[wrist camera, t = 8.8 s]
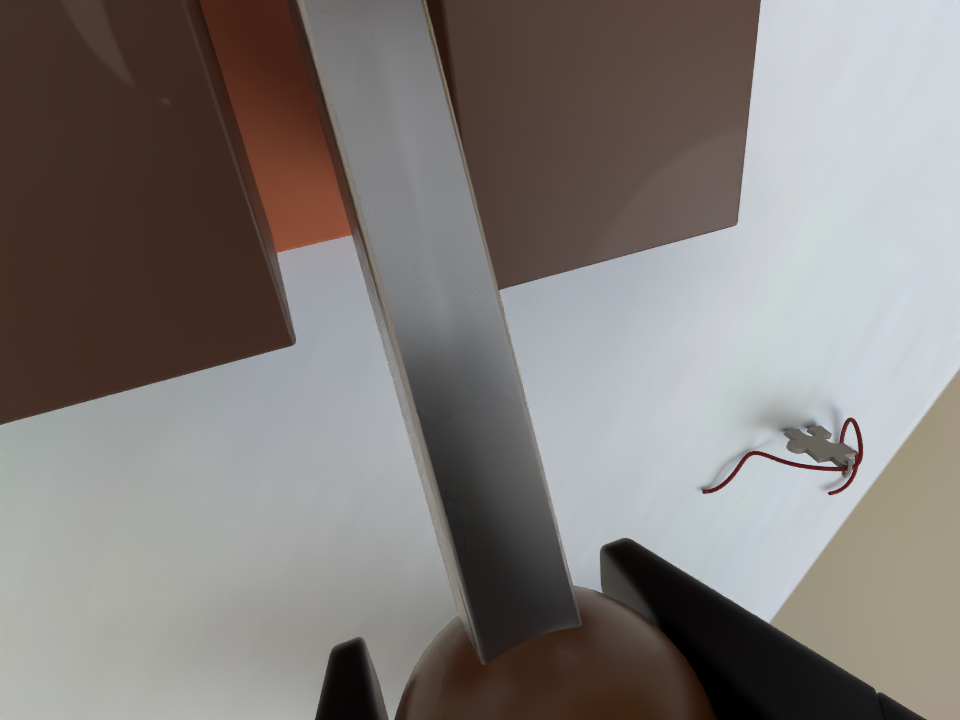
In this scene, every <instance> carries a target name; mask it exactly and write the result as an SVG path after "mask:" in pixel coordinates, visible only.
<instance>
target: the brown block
mask: <svg viewBox="0 0 960 720" xmlns="http://www.w3.org/2000/svg"><path fill="white" fill-rule="evenodd" d="M426 2H427V6H428V10H429V14H430V18H431V22H432V26H433V30H434V34H435V38H436V42H437V46H438V50H439V54H440V58H441V62H442V66H443V70H444V74H445V78H446V82H447V86H448V90H449V94H450V98H451V102H452V106H453V110H454V114H455V118H456V122H457V126H458V130H459V134H460V138H461V142H462V146H463V150H464V154H465V158H466V162H467V166H468V170H469V174H470V178H471V182H472V186H473V190H474V194H475V198H476V202H477V206H478V210H479V214H480V218H481V222H482V226H483V230H484V234H485V238H486V242H487V246H488V249H489V253H490V257H491V261H492V265H493V269H494V273H495V277H496V281H497V285H498V289H499V290H500V289H504V288H507V287H511V286H515V285H518V284H522V283H526V282H529V281H533V280H537V279H540V278H544V277H548V276H551V275H555V274H559V273H563V272H566V271H570V270H574V269H577V268H581V267H585V266H588V265H592V264H596V263H599V262H603V261H607V260H610V259H614V258H618V257H621V256H625V255H629V254H633V253H636V252H640V251H644V250H647V249H651V248H655V247H658V246H662V245H666V244H669V243H673V242H677V241H680V240H684V239H688V238H691V237H695V236H699V235H703V234H706V233H710V232H714V231H717V230H721V229H725V228H728V227H732V226H735V225H737V222H738V212H739V203H740V193H741V184H742V174H743V165H744V155H745V146H746V136H747V127H748V117H749V107H750V98H751V88H752V79H753V69H754V60H755V50H756V41H757V31H758V22H759V12H760V3H761V0H426ZM349 235H352V233H351V229H350V226H349V222H348V219H347V215H346V212H345V208H344V204H343V201H342V197H341V194H340V190H339V187H338V183H337V179H336V176H335V172H334V169H333V165H332V162H331V158H330V155H329V151H328V147H327V144H326V140H325V137H324V133H323V130H322V126H321V122H320V119H319V115H318V112H317V108H316V105H315V101H314V98H313V94H312V90H311V87H310V83H309V80H308V76H307V73H306V69H305V65H304V62H303V58H302V55H301V51H300V48H299V44H298V40H297V37H296V33H295V30H294V26H293V23H292V19H291V16H290V12H289V8H288V5H287V1H286V0H0V425H1V424H5V423H9V422H12V421H16V420H20V419H23V418H27V417H31V416H34V415H38V414H42V413H46V412H49V411H53V410H57V409H60V408H64V407H68V406H71V405H75V404H79V403H82V402H86V401H90V400H93V399H97V398H101V397H105V396H108V395H112V394H116V393H119V392H123V391H127V390H130V389H134V388H138V387H141V386H145V385H149V384H152V383H156V382H160V381H163V380H167V379H171V378H175V377H178V376H182V375H186V374H189V373H193V372H197V371H200V370H204V369H208V368H211V367H215V366H219V365H222V364H226V363H230V362H234V361H237V360H241V359H245V358H248V357H252V356H256V355H259V354H263V353H267V352H270V351H274V350H278V349H281V348H285V347H289V346H292V345H294V344H295V342H296V338H295V333H294V329H293V325H292V320H291V316H290V311H289V307H288V302H287V298H286V294H285V289H284V285H283V280H282V276H281V271H280V267H279V263H278V258H277V254H276V253H278V252H282V251H286V250H290V249H294V248H298V247H303V246H307V245H311V244H315V243H319V242H324V241H328V240H332V239H336V238H340V237H344V236H349Z"/></svg>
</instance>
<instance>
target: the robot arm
mask: <svg viewBox="0 0 960 720" xmlns="http://www.w3.org/2000/svg"><path fill="white" fill-rule="evenodd" d="M600 572H601V587H602V591H603V594H605V595H607V596H610V597H612V598H614V599H616V600H618V601H620V602H622V603H624V604H626V605H628V606H629V607H631V608H633V609H634V610H636V611H638V612H639V613H640V614H642V615H643V616H644V617H645V618H647V619H648V620H649V621H650V622H652V623H653V624H654V625H655V626H657V627H658V628H659V629H660V630H661V631H663V633H664V634H665V635H666V636H667V637H668V638H669V639H670V640H671V642H672V643H673V644H674V645H675V646H676V647H677V648H678V649H679V651H680V652H681V653H682V654H683V655H684V656H685V658H686V659H687V661H688V662H689V664H690V665H691V667H692V668H693V670H694V671H695V673H696V675H697V676H698V678H699V680H700V681H701V683H702V684H703V686H704V688H705V690H706V693H707V695H708V697H709V699H710V701H711V704H712V706H713V709H714V711H715V713H716V716H717V718H718V720H926V719H924V718H923V717H921V716H919V715H917V714H916V713H914V712H912V711H911V710H909V709H907V708H906V707H904V706H902V705H901V704H899V703H898V702H896V701H895V700H893V699H891V698H890V697H888V696H886V695H885V694H883V693H880V692H879V693H877V694H876V691H875V689H874V688H873V687H871V686H870V685H868V684H866V683H865V682H863V681H861V680H860V679H858V678H857V677H855V676H853V675H851V674H850V673H848V672H847V671H845V670H844V669H842V668H840V667H839V666H837V665H835V664H834V663H832V662H830V661H829V660H827V659H825V658H824V657H822V656H821V655H819V654H817V653H816V652H814V651H813V650H811V649H809V648H808V647H806V646H804V645H802V644H801V643H800V642H798V641H796V640H795V639H793V638H791V637H790V636H788V635H786V634H785V633H783V632H781V631H780V630H778V629H777V628H775V627H773V626H772V625H770V624H769V623H767V622H765V621H764V620H762V619H760V618H759V617H757V616H755V615H754V614H752V613H751V612H749V611H747V610H746V609H744V608H742V607H741V606H739V605H738V604H736V603H734V602H733V601H731V600H729V599H728V598H726V597H724V596H723V595H721V594H720V593H718V592H716V591H715V590H713V589H711V588H710V587H708V586H707V585H705V584H703V583H702V582H700V581H698V580H697V579H695V578H693V577H692V576H690V575H689V574H687V573H685V572H684V571H682V570H680V569H679V568H677V567H676V566H674V565H672V564H671V563H669V562H667V561H666V560H664V559H662V558H661V557H659V556H658V555H656V554H654V553H653V552H651V551H649V550H648V549H646V548H645V547H643V546H641V545H640V544H638V543H636V542H635V541H633V540H631V539H628V538H622V539H619V540H616V541H614V542H611V543H608V544H606V545H604V546H602V548H601V550H600ZM315 720H389V719H388V715H387V711H386V707H385V703H384V700H383V696H382V692H381V688H380V684H379V680H378V677H377V674H376V671H375V668H374V665H373V663H372V660H371V657H370V654H369V651H368V649H367V646H366V643H365V641H364V639H363V638H361V637H358V638H354V639H352V640H349V641H346V642H344V643H341V644H338V645H336V646H335V647H334V648H333V649H332V651H331V653H330V657H329V661H328V665H327V670H326V674H325V678H324V683H323V687H322V691H321V696H320V700H319V704H318V709H317V713H316V717H315Z"/></svg>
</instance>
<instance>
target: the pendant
mask: <svg viewBox="0 0 960 720" xmlns="http://www.w3.org/2000/svg"><path fill="white" fill-rule="evenodd" d="M850 422H852V423H853V425H854V428H855V431H856V434H857V439H858V449H859V451H858V453H857V451H855V450H852V449H851V448H849V447H848V446H847V445H845V444H844V436H845V432H846V429H847V426H848V424H849V423H850ZM807 432H808V433H810V434H811V435H813V436H808V435H805V434H804V433H802V432H801V431H800V430H799V429H791V430H786V431H785V433H784V435H785V436H786V437H788V438H789V439H790V441H789V442H788V444H787V446H786V447H787V449H788V450H789V451H791V452H793V453H796V454H801V453H807V454H808V455H809V456H811V457H812V458H813V459H814V460H815V461H817V462H818V463H820V462H826V461H832V462H833V463H834V464H835V465H836V466H838V467H824V466H813V465H805V464H799V463H794V462H790V461H786V460H783V459H780V458H777V457H775V456H772V455H769V454H767V453H763V452H759V451H752V452H749V453H748V454H746V455H745V456H744V457H743V458H742V460H741V461H740V462H739V464H738V465H737V467H736V468H735V470H734V471H733V472H732V474H731V475H730V476H729V477H728V478H727V479H726V480H725V481H724V482H723V483H721V484H720V485H718V486H717V487H715V488H712V489H708V490H703V491H702V492H703V494H707V493H712V492H715V491H718V490H719V489H721V488H722V487H724V486H725V485H726V484H728V483H729V482H730V481H731V480H732V479H733V477H734V476H735V475H736V474H737V472H738V471H739V470H740V468H741V467H742V465H743V464H744V462H745V461H746V460H747V459H748V458H749V457H750V456H752V455H760V456H764V457H767V458H769V459H772V460H775V461H777V462H780V463H783V464H787V465H790V466H794V467H799V468H805V469H813V470H823V471H842V476H843V477H844V478H847V477H848V476H849V475H850V473H851V470H853V472H852V475H851V477H850V478H849V480H848V481H847V483H846V484H845V485H844V486H842V487H841V488H839V489H837V490H835V491H831V492H828V494H829V495H834V494H837V493H839V492H841V491H843V490H844V489H846V488H847V487H848V486H849V485H850V484H851V482H852V481H853V479H854V477H855V475H856V473H857V469H858V466H859V465H860V463H861V461H862V457H863V443H862V437H861V432H860V429H859V426H858V424H857V422H856V421H855V419H853V418H848V419H847V420H846V421H845V423H844V425H843V428H842V431H841V435H840V442H839V444H834V443H830V442H828V441H827V440H826V439H830V437H831V435H832V434H831V433H830V432H828V431H827V430H826V429H824V428H823V427H822V426H813V427H809V428H808V430H807ZM854 456H855V464H853V461H852V460H851V459H849V458H851V457H854ZM846 471H847V472H846Z"/></svg>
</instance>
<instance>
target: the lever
mask: <svg viewBox="0 0 960 720" xmlns="http://www.w3.org/2000/svg"><path fill="white" fill-rule="evenodd" d="M286 1H287V5H288V8H289V12H290V16H291V19H292V23H293V26H294V30H295V33H296V37H297V40H298V44H299V48H300V51H301V55H302V58H303V62H304V65H305V69H306V73H307V76H308V80H309V83H310V87H311V90H312V94H313V98H314V101H315V105H316V108H317V112H318V115H319V119H320V122H321V126H322V130H323V133H324V137H325V140H326V144H327V147H328V151H329V155H330V158H331V162H332V165H333V169H334V172H335V176H336V179H337V183H338V187H339V190H340V194H341V197H342V201H343V204H344V208H345V212H346V215H347V219H348V222H349V226H350V229H351V233H352V237H353V240H354V244H355V247H356V251H357V254H358V258H359V261H360V265H361V269H362V272H363V276H364V279H365V283H366V286H367V290H368V294H369V297H370V301H371V304H372V308H373V311H374V315H375V318H376V322H377V326H378V329H379V333H380V336H381V340H382V343H383V347H384V351H385V354H386V358H387V361H388V365H389V368H390V372H391V376H392V379H393V383H394V386H395V390H396V393H397V397H398V400H399V404H400V408H401V411H402V415H403V418H404V422H405V425H406V429H407V433H408V436H409V440H410V443H411V447H412V450H413V454H414V457H415V461H416V465H417V468H418V472H419V475H420V479H421V482H422V486H423V490H424V493H425V497H426V500H427V504H428V507H429V511H430V515H431V518H432V522H433V525H434V529H435V532H436V536H437V539H438V543H439V547H440V550H441V554H442V557H443V561H444V564H445V568H446V572H447V575H448V579H449V582H450V586H451V589H452V593H453V596H454V600H455V604H456V607H457V611H458V614H459V615H458V616H457V617H456V618H455V619H453V620H452V621H451V622H450V623H449V624H448V625H447V626H446V627H445V628H444V629H443V630H442V631H441V632H440V633H439V634H438V635H437V637H436V638H435V639H434V640H433V642H432V643H431V644H430V645H429V647H428V648H427V649H426V650H425V652H424V653H423V655H422V656H421V658H420V659H419V661H418V663H417V664H416V666H415V667H414V669H413V671H412V673H411V676H410V678H409V680H408V682H407V684H406V686H405V689H404V692H403V694H402V697H401V700H400V703H399V706H398V709H397V712H396V715H395V720H718V718H717V716H716V713H715V711H714V709H713V706H712V704H711V701H710V699H709V697H708V695H707V693H706V690H705V688H704V686H703V684H702V683H701V681H700V680H699V678H698V676H697V675H696V673H695V671H694V670H693V668H692V667H691V665H690V664H689V662H688V661H687V659H686V658H685V656H684V655H683V654H682V653H681V652H680V651H679V649H678V648H677V647H676V646H675V645H674V644H673V643H672V642H671V640H670V639H669V638H668V637H667V636H666V635H665V634H664V633H663V631H661V630H660V629H659V628H658V627H657V626H655V625H654V624H653V623H652V622H650V621H649V620H648V619H647V618H645V617H644V616H643V615H642V614H640V613H639V612H638V611H636V610H634V609H633V608H631V607H629V606H628V605H626V604H624V603H622V602H620V601H618V600H616V599H614V598H612V597H610V596H607V595H605V594H602V593H600V592H597V591H594V590H590V589H586V588H582V587H577V586H573V585H572V581H571V577H570V573H569V569H568V565H567V561H566V557H565V553H564V549H563V545H562V541H561V537H560V533H559V529H558V525H557V521H556V517H555V513H554V509H553V505H552V501H551V497H550V493H549V489H548V485H547V481H546V477H545V473H544V469H543V465H542V461H541V457H540V453H539V449H538V445H537V441H536V437H535V433H534V429H533V425H532V421H531V417H530V413H529V409H528V405H527V401H526V397H525V393H524V389H523V385H522V381H521V377H520V373H519V369H518V365H517V361H516V357H515V353H514V349H513V345H512V341H511V337H510V333H509V329H508V325H507V321H506V317H505V313H504V309H503V305H502V301H501V297H500V293H499V289H498V285H497V281H496V277H495V273H494V269H493V265H492V261H491V257H490V253H489V249H488V246H487V242H486V238H485V234H484V230H483V226H482V222H481V218H480V214H479V210H478V206H477V202H476V198H475V194H474V190H473V186H472V182H471V178H470V174H469V170H468V166H467V162H466V158H465V154H464V150H463V146H462V142H461V138H460V134H459V130H458V126H457V122H456V118H455V114H454V110H453V106H452V102H451V98H450V94H449V90H448V86H447V82H446V78H445V74H444V70H443V66H442V62H441V58H440V54H439V50H438V46H437V42H436V38H435V34H434V30H433V26H432V22H431V18H430V14H429V10H428V6H427V2H426V0H286Z"/></svg>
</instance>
